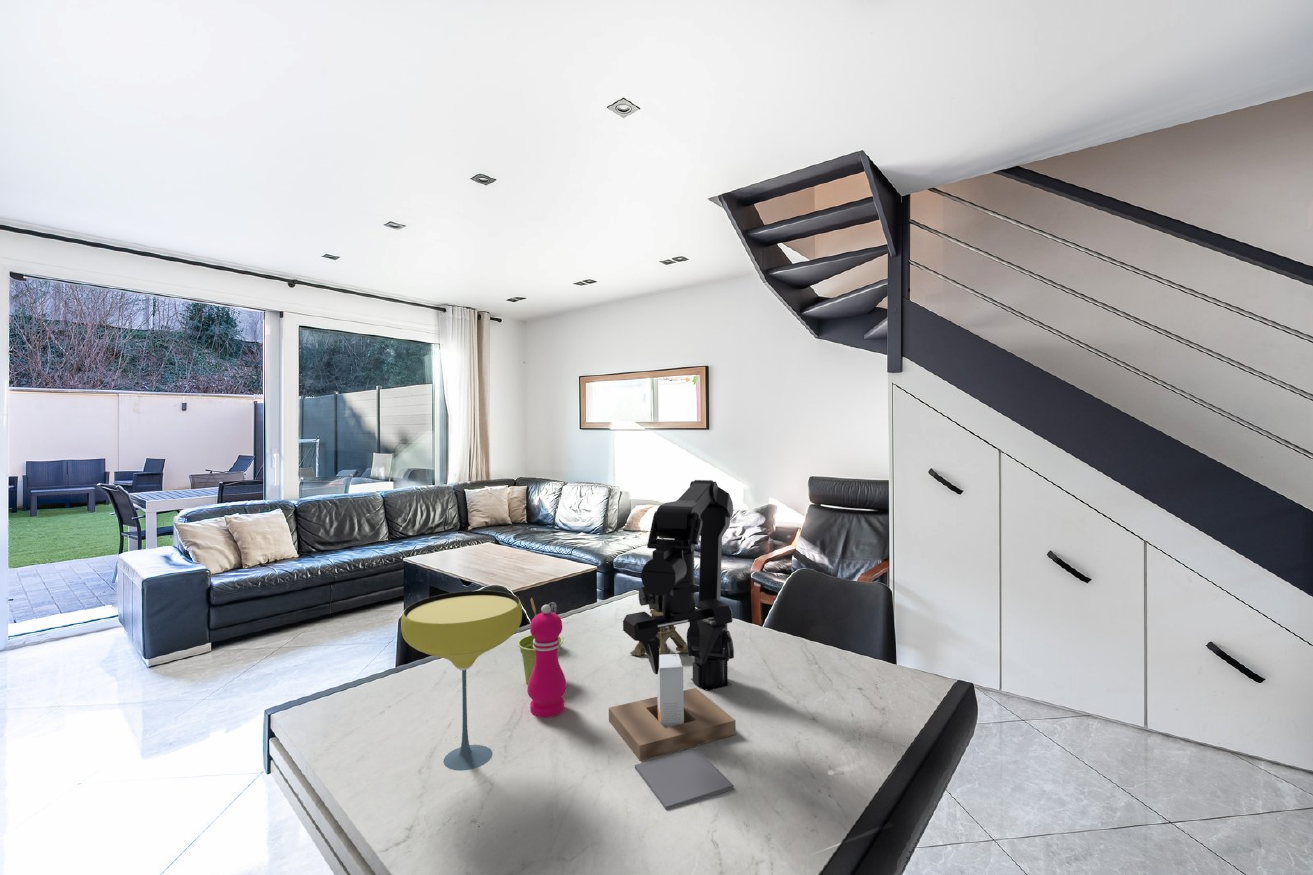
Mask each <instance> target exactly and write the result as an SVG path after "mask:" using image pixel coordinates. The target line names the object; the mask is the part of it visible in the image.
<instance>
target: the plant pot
mask: <svg viewBox="0 0 1313 875" xmlns="http://www.w3.org/2000/svg"><path fill="white" fill-rule="evenodd" d="M558 637H559V638H560V641H559V643H560V646H559V647H558V651H557V654H558V657H559V655H560V651H561V647H562V644H563V643H564V638H563V637H562V636H561V635H559V636H558ZM534 639H535V638H534V637H533V636H532V635H531V634H530V635H527V636H524V637H522V638H520V639H519V640H517V641H518V642H517V647H518V648H519V649H520V650H519V651H520V653H521V657H522V663H523V671H524V677H525V684H527V685H528V682H529V678H530V676H531V674H532V671H533V669H534V666H535V659H536V652H535V649H534V648H533V645H534V643H533V640H534Z"/></svg>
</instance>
